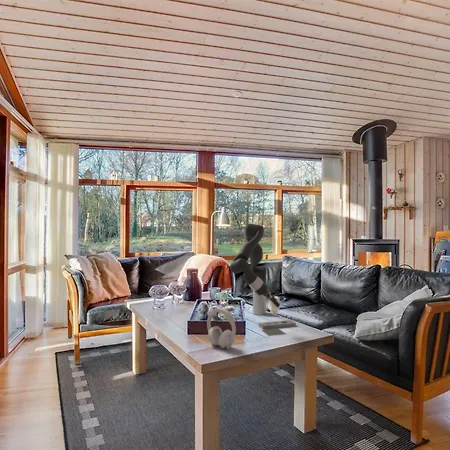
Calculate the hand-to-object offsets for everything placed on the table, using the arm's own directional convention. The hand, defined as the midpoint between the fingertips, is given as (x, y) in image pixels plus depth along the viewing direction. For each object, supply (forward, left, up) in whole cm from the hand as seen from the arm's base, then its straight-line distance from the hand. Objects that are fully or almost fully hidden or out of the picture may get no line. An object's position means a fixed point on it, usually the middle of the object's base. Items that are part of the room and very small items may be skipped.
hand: (276, 304), depth 213 cm
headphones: (+13, -38, -17) cm, 43 cm away
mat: (0, -2, -17) cm, 17 cm away
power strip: (-11, +5, -17) cm, 20 cm away
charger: (0, -2, -5) cm, 5 cm away
